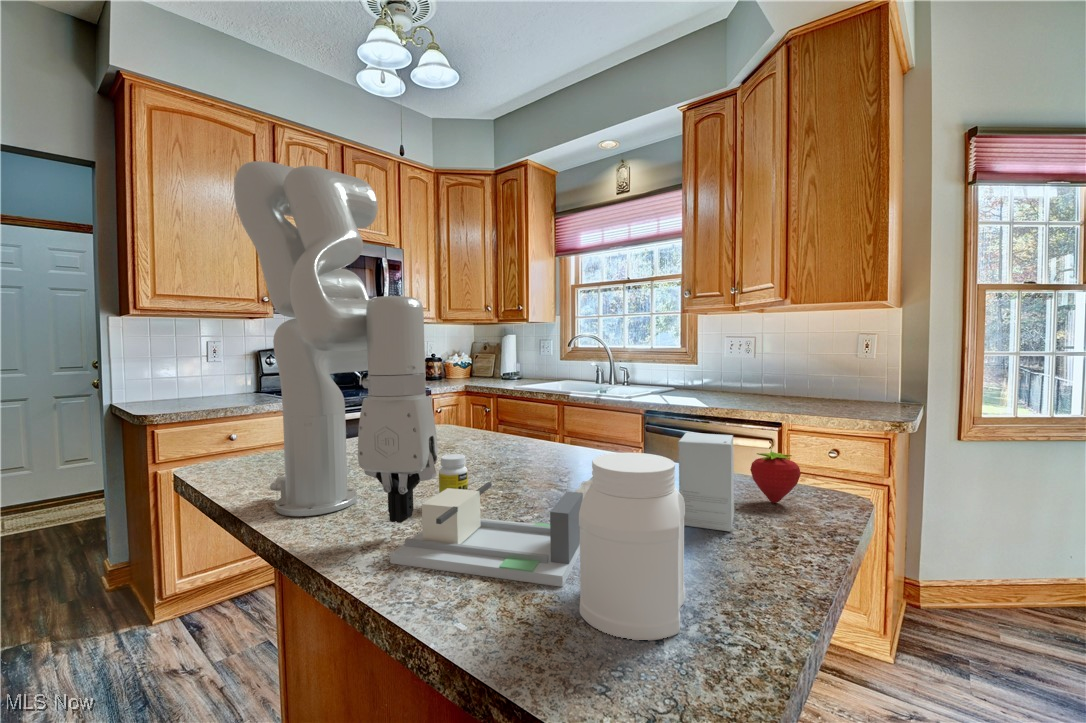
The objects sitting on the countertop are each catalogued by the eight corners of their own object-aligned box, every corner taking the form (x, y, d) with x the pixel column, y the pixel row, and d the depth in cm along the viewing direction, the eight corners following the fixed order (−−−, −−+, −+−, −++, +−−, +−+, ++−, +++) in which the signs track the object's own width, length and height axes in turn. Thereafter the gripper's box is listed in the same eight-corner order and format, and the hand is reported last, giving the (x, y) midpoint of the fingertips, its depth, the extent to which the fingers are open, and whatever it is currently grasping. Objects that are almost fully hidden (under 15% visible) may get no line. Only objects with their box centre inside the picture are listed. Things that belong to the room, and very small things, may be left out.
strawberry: (803, 511, 77) (803, 448, 76) (751, 506, 79) (751, 445, 79) (797, 499, 82) (798, 440, 82) (749, 495, 85) (749, 438, 84)
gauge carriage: (404, 556, 59) (403, 515, 59) (461, 512, 74) (460, 480, 73) (441, 560, 58) (440, 519, 57) (492, 515, 72) (491, 482, 72)
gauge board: (390, 563, 60) (388, 505, 60) (444, 522, 74) (443, 475, 74) (562, 586, 54) (561, 522, 54) (587, 537, 67) (587, 486, 67)
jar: (676, 650, 43) (676, 481, 42) (571, 629, 46) (570, 472, 46) (686, 588, 54) (686, 452, 53) (601, 574, 57) (600, 446, 56)
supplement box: (735, 515, 75) (735, 434, 75) (731, 533, 68) (731, 444, 68) (685, 509, 78) (685, 431, 78) (677, 525, 72) (677, 440, 71)
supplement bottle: (462, 512, 78) (461, 460, 78) (434, 510, 79) (433, 459, 79) (472, 502, 83) (471, 453, 83) (446, 501, 84) (445, 452, 84)
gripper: (333, 389, 66) (337, 524, 66) (432, 390, 61) (435, 534, 62) (368, 384, 73) (371, 506, 74) (459, 385, 69) (462, 514, 69)
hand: (401, 518), depth 68 cm, fingers closed
